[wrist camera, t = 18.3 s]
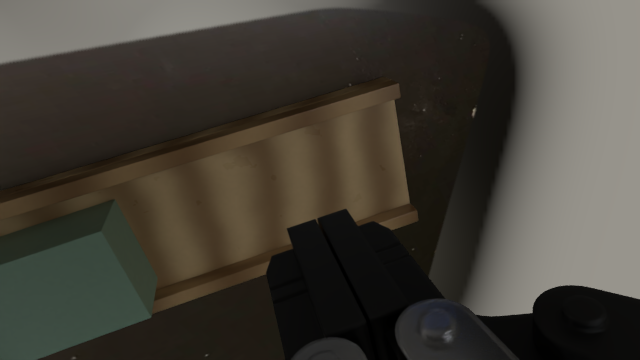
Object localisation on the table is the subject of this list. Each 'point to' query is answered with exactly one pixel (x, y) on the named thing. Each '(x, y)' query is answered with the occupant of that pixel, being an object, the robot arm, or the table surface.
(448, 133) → the table surface
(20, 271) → the green rectangular block
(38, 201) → the tray
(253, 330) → the table surface
